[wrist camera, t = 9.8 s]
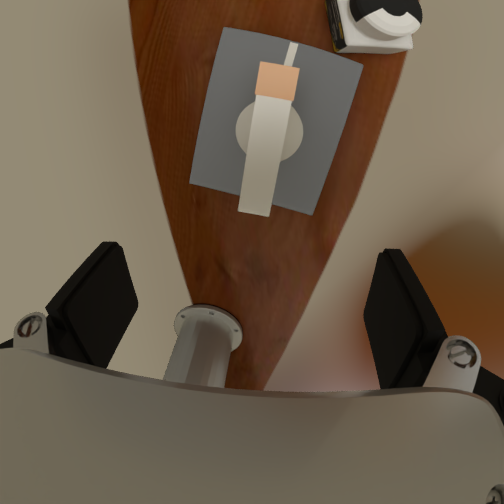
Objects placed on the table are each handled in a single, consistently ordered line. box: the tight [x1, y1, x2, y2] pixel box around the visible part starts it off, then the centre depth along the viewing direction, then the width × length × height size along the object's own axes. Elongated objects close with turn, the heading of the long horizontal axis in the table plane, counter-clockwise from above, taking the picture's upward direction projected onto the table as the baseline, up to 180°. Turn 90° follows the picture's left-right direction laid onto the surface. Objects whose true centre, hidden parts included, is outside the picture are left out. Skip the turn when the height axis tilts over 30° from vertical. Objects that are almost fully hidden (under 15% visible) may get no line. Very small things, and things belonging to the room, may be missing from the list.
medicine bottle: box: [325, 0, 422, 54], centre depth 19 cm, size 7×7×12 cm
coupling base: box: [189, 27, 363, 215], centre depth 29 cm, size 20×16×6 cm
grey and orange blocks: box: [236, 61, 303, 217], centre depth 23 cm, size 11×6×9 cm, turn 171°
